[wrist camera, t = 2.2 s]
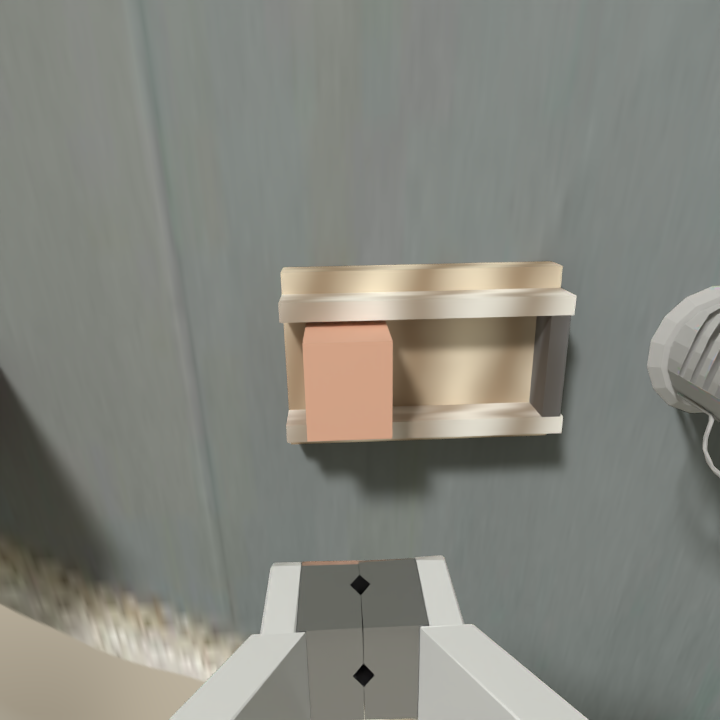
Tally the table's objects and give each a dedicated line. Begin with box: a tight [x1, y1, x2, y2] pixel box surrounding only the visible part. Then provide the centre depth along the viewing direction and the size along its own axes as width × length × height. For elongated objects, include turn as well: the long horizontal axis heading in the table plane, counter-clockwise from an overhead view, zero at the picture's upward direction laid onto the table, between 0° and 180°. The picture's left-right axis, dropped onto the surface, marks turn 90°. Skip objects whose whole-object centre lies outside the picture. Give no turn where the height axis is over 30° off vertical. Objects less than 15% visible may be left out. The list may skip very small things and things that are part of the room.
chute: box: [278, 261, 576, 444], centre depth 37 cm, size 18×12×4 cm, turn 91°
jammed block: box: [302, 320, 393, 442], centre depth 34 cm, size 5×6×6 cm
